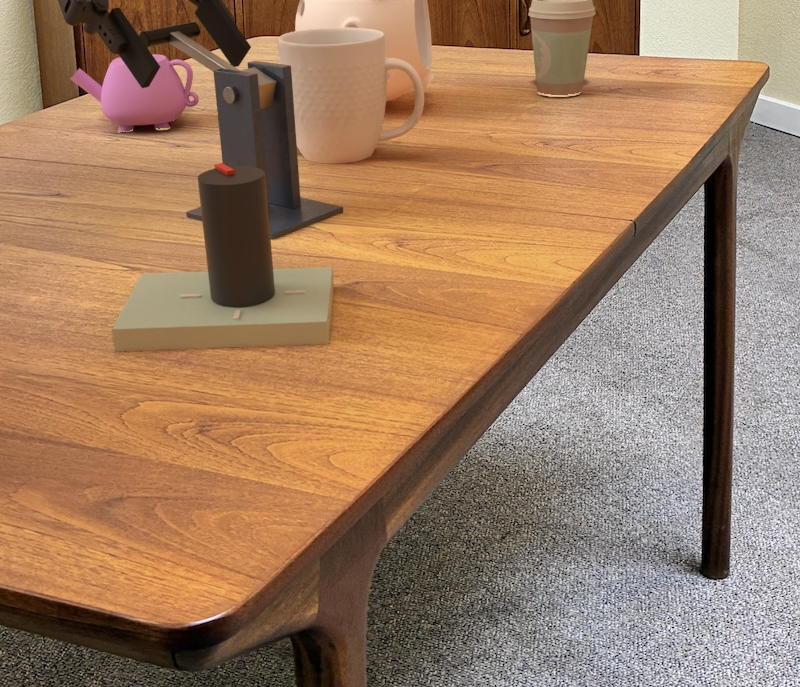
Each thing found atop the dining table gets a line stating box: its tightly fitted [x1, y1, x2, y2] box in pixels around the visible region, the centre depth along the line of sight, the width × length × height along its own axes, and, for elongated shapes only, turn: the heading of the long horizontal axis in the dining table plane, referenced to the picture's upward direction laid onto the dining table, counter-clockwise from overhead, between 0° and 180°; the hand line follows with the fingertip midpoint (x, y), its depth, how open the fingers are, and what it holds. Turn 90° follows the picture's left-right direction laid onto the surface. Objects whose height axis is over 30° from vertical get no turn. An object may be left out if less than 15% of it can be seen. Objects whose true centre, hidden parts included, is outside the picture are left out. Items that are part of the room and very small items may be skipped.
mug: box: [277, 27, 425, 165], centre depth 116 cm, size 15×11×13 cm
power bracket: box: [185, 60, 344, 241], centre depth 97 cm, size 11×9×14 cm
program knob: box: [197, 162, 275, 307], centre depth 74 cm, size 4×4×9 cm
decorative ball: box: [294, 0, 435, 103], centre depth 137 cm, size 20×17×20 cm
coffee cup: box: [527, 0, 596, 95], centre depth 142 cm, size 8×9×12 cm
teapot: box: [70, 53, 200, 133], centre depth 134 cm, size 10×15×9 cm
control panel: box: [111, 266, 335, 352], centre depth 77 cm, size 14×10×3 cm
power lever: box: [138, 21, 276, 109], centre depth 97 cm, size 13×6×2 cm, turn 51°
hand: (198, 67), depth 99 cm, fingers open, 10 cm apart
